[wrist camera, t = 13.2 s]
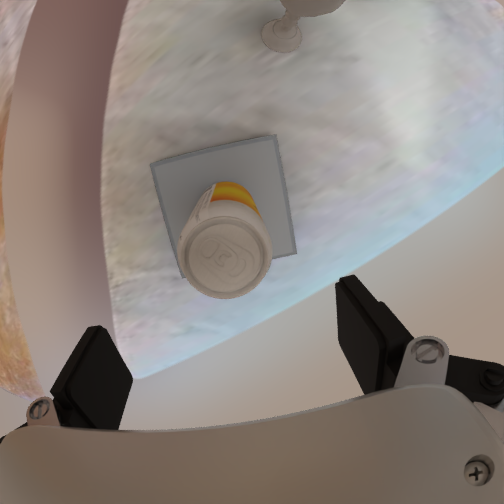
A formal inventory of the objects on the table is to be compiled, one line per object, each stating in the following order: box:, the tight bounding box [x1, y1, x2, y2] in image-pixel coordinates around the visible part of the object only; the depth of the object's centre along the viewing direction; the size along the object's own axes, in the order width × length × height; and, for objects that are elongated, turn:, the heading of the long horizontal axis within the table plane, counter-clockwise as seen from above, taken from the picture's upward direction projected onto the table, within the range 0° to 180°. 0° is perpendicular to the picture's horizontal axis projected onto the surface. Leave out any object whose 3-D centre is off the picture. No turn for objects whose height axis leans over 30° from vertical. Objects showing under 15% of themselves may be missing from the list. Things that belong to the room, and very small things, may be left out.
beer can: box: [177, 181, 273, 299], centre depth 24 cm, size 6×6×15 cm
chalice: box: [261, 0, 345, 53], centre depth 20 cm, size 7×7×18 cm
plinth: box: [150, 134, 297, 278], centre depth 33 cm, size 14×14×4 cm
